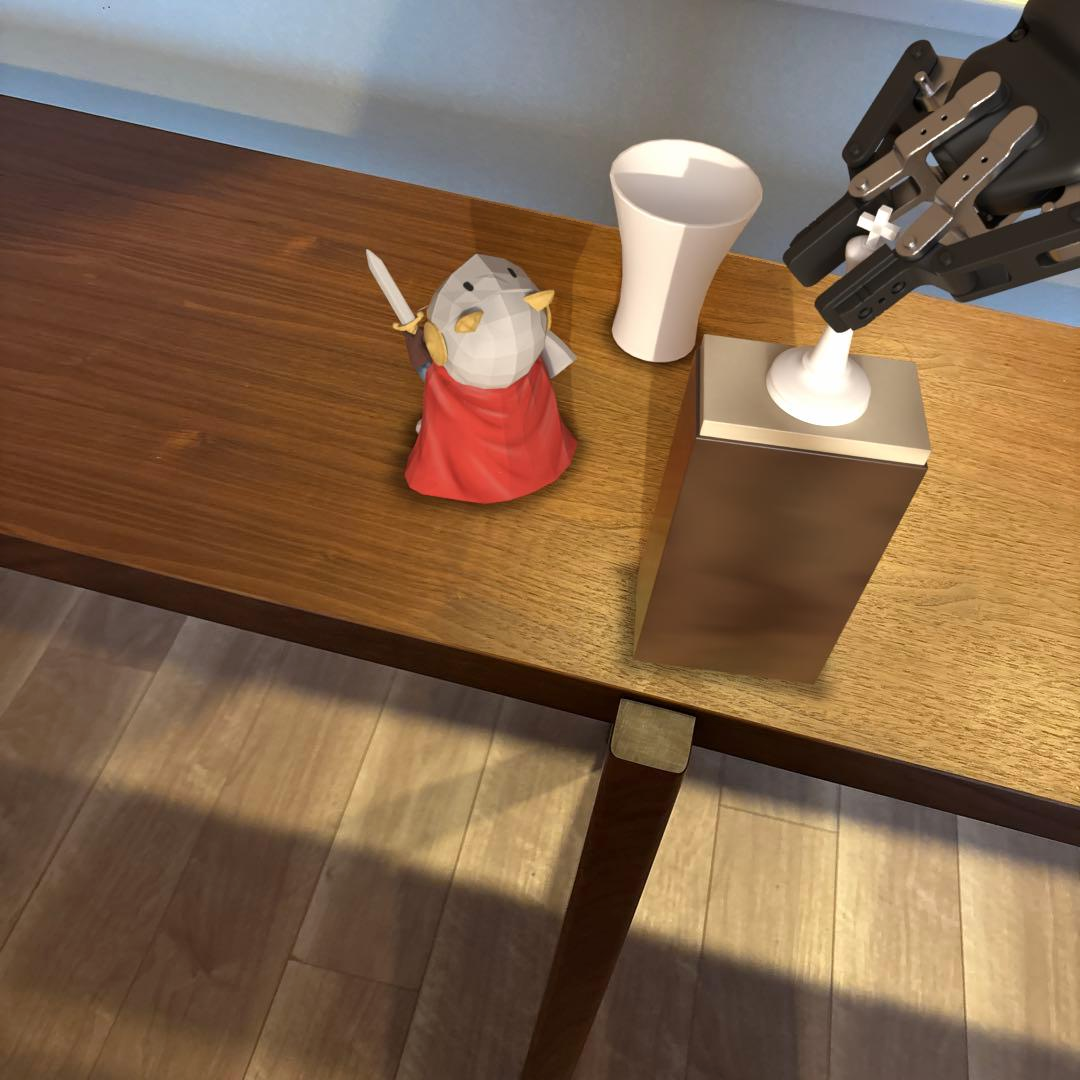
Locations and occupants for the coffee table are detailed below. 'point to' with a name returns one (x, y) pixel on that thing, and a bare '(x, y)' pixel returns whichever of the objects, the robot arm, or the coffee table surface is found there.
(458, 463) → the figurine
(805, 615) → the rectangular box
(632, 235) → the cup
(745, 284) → the coffee table surface
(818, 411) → the chess piece
